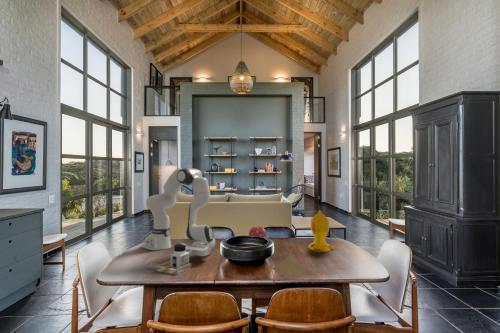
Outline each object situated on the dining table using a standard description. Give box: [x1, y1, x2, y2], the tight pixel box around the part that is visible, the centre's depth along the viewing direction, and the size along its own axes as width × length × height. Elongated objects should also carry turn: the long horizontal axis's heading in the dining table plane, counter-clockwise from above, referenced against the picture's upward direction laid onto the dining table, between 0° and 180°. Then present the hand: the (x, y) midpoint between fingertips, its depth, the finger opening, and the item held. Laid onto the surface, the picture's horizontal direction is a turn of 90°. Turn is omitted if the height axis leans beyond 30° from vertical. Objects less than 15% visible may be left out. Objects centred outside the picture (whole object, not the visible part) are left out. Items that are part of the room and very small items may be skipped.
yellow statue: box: [308, 209, 334, 253], centre depth 210 cm, size 18×24×28 cm
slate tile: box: [145, 263, 161, 270], centre depth 167 cm, size 6×6×2 cm
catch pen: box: [156, 260, 192, 275], centre depth 164 cm, size 14×13×2 cm
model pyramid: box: [271, 253, 312, 279], centre depth 162 cm, size 17×17×10 cm
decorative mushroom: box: [248, 225, 267, 238], centre depth 217 cm, size 13×13×15 cm
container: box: [170, 243, 190, 269], centre depth 169 cm, size 8×8×13 cm
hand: (184, 253), depth 172 cm, fingers closed, pressing on container
